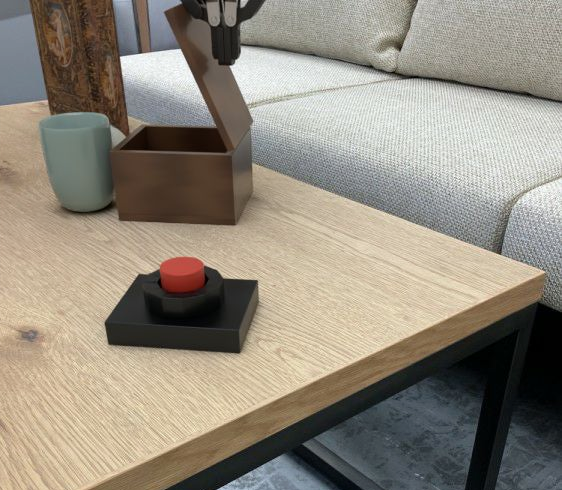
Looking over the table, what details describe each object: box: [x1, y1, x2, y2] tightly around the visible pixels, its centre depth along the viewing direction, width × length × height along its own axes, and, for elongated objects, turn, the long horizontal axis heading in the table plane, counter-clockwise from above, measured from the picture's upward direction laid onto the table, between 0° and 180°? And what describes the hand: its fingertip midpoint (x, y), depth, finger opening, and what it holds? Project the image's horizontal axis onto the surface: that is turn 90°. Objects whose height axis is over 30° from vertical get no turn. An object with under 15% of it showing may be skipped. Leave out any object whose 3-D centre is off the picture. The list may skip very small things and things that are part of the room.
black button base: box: [104, 265, 260, 354], centre depth 59 cm, size 11×9×4 cm
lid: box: [163, 2, 255, 152], centre depth 75 cm, size 14×12×1 cm
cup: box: [37, 112, 115, 213], centre depth 81 cm, size 8×8×10 cm
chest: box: [109, 123, 254, 226], centre depth 82 cm, size 14×12×8 cm
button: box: [159, 256, 205, 292], centre depth 58 cm, size 4×4×2 cm
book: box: [28, 0, 131, 137], centre depth 105 cm, size 16×6×25 cm, turn 42°
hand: (226, 64), depth 74 cm, fingers closed
